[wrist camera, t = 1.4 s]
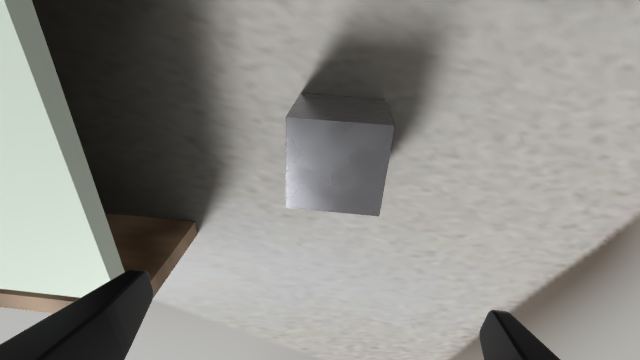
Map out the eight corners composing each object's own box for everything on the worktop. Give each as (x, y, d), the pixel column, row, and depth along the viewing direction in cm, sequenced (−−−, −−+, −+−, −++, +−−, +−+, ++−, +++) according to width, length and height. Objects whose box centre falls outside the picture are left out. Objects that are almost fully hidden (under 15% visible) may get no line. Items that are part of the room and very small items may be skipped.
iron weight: (384, 98, 18) (395, 125, 14) (373, 173, 21) (379, 216, 16) (300, 92, 19) (285, 117, 14) (299, 167, 21) (285, 207, 17)
